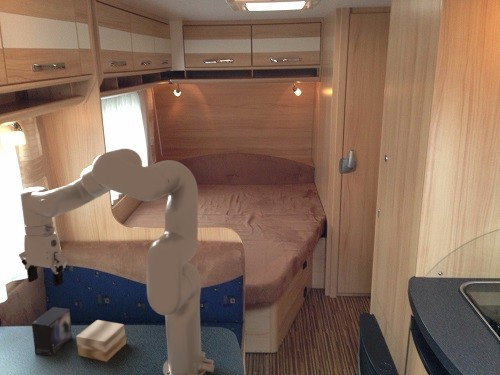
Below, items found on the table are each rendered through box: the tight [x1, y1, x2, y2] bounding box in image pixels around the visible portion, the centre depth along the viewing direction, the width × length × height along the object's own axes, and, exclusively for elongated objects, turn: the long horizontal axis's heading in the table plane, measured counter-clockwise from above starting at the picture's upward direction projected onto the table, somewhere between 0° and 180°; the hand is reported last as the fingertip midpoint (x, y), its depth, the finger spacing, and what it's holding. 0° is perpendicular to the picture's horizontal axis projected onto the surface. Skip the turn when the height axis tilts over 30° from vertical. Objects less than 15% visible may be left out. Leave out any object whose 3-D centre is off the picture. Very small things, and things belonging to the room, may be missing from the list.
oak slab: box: [77, 334, 127, 362], centre depth 135 cm, size 10×10×4 cm
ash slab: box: [75, 319, 126, 352], centre depth 134 cm, size 10×10×4 cm
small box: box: [31, 306, 73, 356], centre depth 136 cm, size 11×6×10 cm, turn 168°
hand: (45, 282), depth 133 cm, fingers open, 9 cm apart
